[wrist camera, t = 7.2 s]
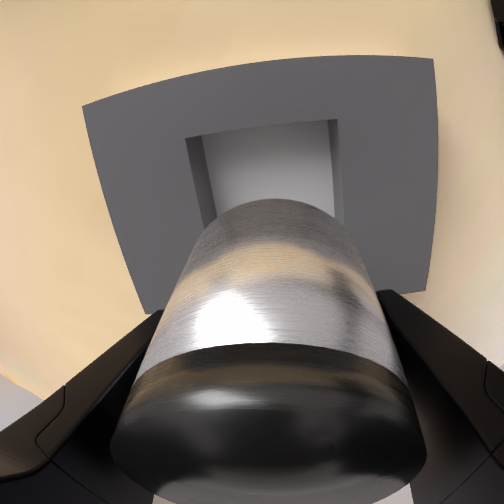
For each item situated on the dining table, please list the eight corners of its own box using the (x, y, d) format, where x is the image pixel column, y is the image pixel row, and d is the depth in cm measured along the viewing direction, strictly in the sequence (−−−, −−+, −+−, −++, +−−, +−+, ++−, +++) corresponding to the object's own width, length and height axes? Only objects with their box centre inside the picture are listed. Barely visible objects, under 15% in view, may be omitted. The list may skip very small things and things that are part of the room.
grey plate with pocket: (398, 63, 14) (433, 58, 10) (401, 251, 20) (425, 290, 16) (122, 99, 16) (82, 106, 13) (166, 273, 22) (145, 314, 18)
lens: (360, 189, 8) (475, 377, 3) (358, 335, 10) (391, 507, 5) (169, 211, 8) (47, 393, 3) (211, 347, 11) (174, 513, 6)
